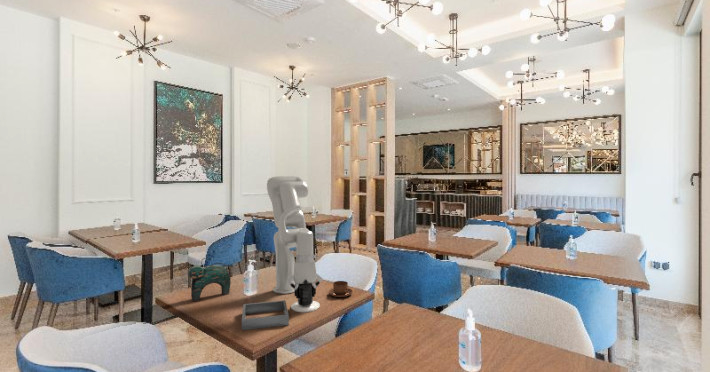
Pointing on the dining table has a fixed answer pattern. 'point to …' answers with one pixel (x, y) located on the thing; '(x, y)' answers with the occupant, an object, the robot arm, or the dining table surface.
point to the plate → (305, 307)
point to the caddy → (264, 321)
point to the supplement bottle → (305, 293)
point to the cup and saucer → (340, 289)
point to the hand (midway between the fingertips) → (305, 296)
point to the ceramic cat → (208, 278)
